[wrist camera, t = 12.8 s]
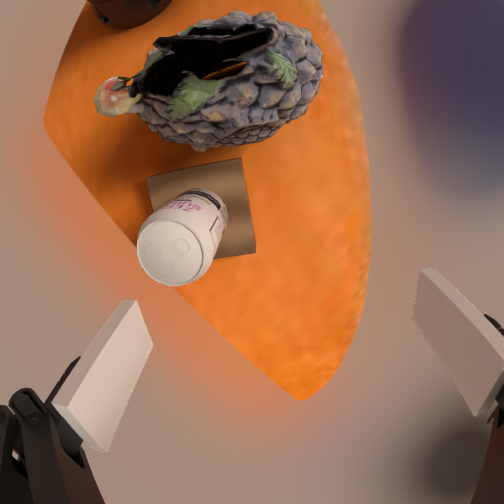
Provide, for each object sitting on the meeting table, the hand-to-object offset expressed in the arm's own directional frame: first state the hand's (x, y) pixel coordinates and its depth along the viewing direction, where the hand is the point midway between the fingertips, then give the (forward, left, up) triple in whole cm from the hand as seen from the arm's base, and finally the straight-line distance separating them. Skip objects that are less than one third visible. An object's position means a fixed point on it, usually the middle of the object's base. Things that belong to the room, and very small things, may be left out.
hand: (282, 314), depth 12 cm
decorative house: (-14, -2, -33) cm, 36 cm away
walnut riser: (+2, -10, -33) cm, 35 cm away
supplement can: (+2, -10, -29) cm, 31 cm away
